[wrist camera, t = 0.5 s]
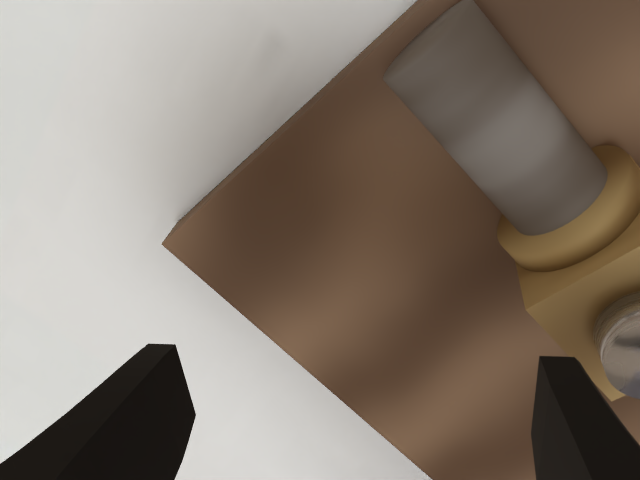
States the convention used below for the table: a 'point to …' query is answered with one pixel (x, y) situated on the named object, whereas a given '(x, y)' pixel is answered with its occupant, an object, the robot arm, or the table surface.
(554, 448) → the robot arm
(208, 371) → the table surface
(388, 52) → the valve board
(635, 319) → the valve lever
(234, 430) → the table surface
